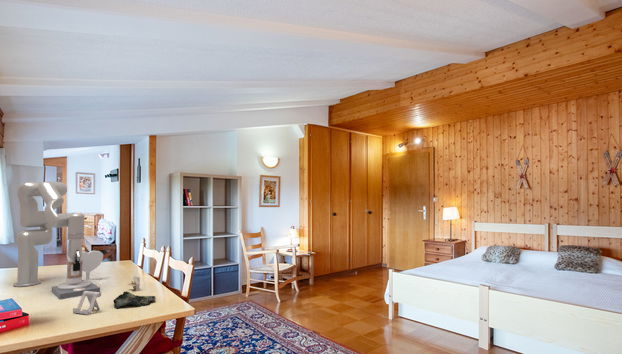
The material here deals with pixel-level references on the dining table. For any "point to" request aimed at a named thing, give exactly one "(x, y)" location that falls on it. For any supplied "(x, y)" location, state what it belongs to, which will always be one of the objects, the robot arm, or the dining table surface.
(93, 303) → the portable electronic device stand
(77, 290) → the dial scale
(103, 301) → the dining table surface
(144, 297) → the decorative rock
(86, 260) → the heart sculpture
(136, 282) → the architectural model
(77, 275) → the bath foam
